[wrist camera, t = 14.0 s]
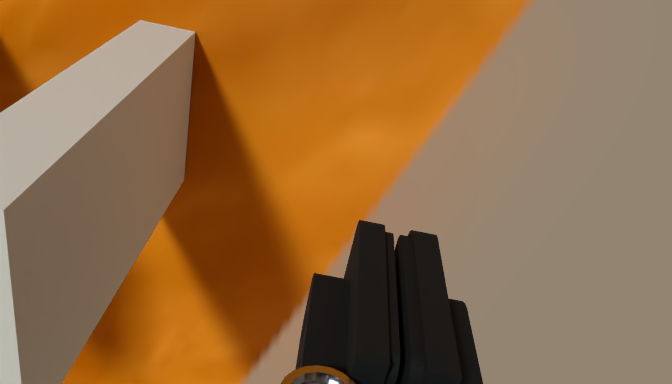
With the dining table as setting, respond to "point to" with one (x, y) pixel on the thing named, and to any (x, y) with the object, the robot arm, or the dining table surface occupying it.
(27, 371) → the tile
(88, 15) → the dining table surface
